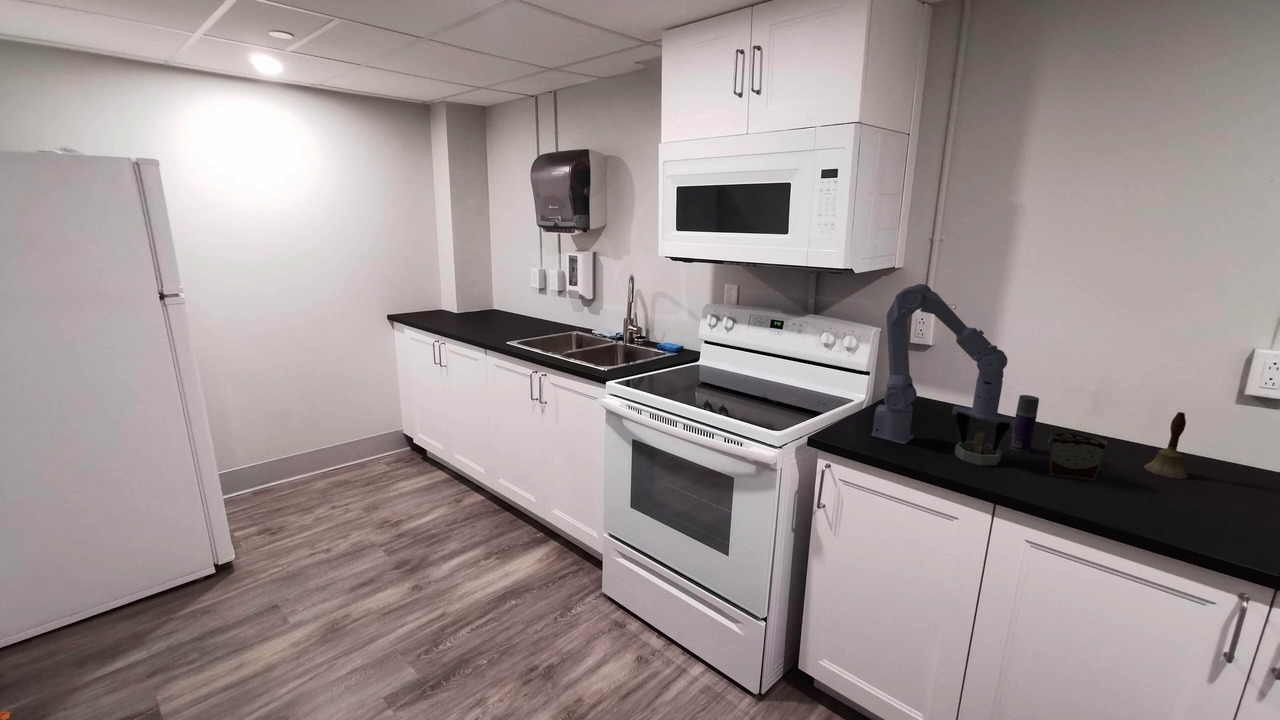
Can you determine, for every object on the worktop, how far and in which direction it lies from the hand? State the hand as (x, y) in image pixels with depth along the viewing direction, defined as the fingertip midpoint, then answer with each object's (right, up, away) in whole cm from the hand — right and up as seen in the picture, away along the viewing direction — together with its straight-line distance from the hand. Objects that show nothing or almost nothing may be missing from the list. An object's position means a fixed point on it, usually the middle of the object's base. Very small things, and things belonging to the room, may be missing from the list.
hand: (978, 445), depth 152 cm
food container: (+18, -6, -7) cm, 20 cm away
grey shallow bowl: (0, -3, +1) cm, 3 cm away
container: (+15, -2, +7) cm, 17 cm away
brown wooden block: (0, -3, +1) cm, 3 cm away
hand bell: (+43, -6, -7) cm, 44 cm away
